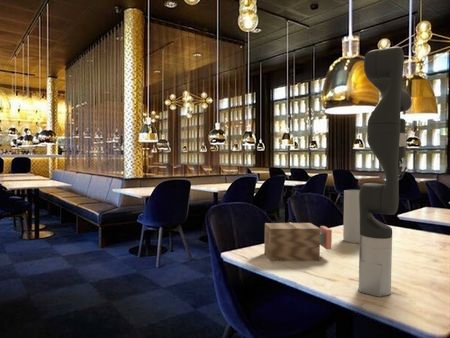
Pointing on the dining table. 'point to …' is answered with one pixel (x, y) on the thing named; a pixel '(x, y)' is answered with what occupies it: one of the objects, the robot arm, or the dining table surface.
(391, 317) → the dining table surface
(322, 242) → the salmon square plate
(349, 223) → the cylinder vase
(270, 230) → the block
